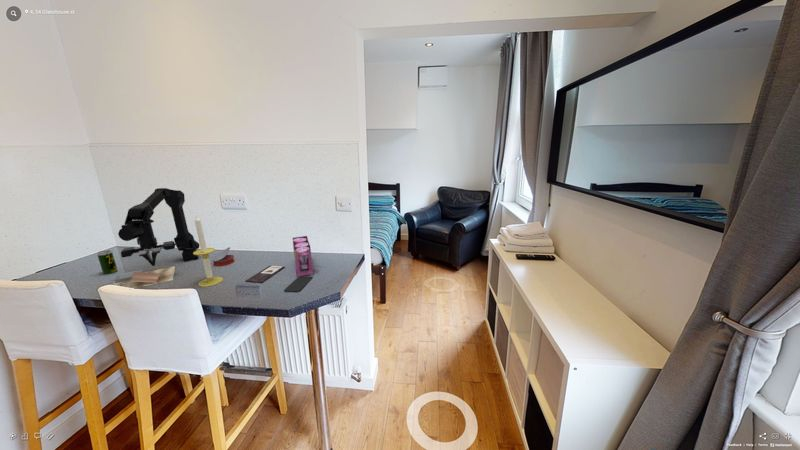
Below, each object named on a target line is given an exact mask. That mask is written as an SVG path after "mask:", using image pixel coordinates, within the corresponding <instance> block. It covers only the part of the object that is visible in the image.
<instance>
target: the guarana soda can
mask: <svg viewBox="0 0 800 450" xmlns="http://www.w3.org/2000/svg"><path fill="white" fill-rule="evenodd" d="M113 253H114V252H113V251H112V249H107V250H100V251H99V252H97V254H96V255H97V260H98V261H99V265H100V268H101V271H102V275H104V276H110V275H114V274H116V273H118V271H119V269H118V266H117V263H116V259H115V256H114V254H113Z"/></svg>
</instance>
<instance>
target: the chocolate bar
mask: <svg viewBox="0 0 800 450" xmlns="http://www.w3.org/2000/svg"><path fill="white" fill-rule="evenodd" d="M285 268H286V266H279V265H268V266H267V267H265V268H264V269H262V270H261V271H259V272H257V273H256V274H254V275H252V276H251V277H248V278H247V279H245V281H244V282H245V283H253V284H263V283H265V282H266V281H268V280H269V279H271V278H273V276H275V275H277V274H278V273H279V272H280V273H281V271H283V270H284V269H285Z"/></svg>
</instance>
